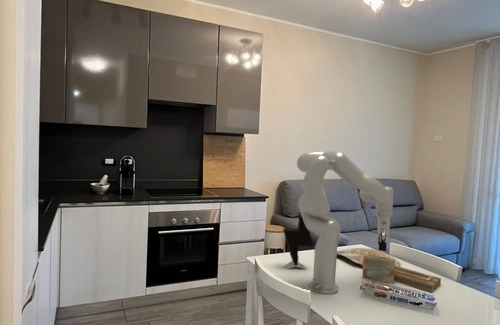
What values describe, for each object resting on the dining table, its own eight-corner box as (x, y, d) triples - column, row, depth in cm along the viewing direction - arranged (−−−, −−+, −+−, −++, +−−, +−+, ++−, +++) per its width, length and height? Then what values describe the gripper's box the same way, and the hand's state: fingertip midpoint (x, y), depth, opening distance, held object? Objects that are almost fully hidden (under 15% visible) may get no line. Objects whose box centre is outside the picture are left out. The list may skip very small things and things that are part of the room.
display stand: (431, 292, 148) (431, 284, 148) (378, 276, 165) (378, 268, 164) (440, 284, 158) (441, 276, 158) (389, 269, 174) (390, 262, 174)
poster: (359, 277, 171) (404, 270, 182) (360, 266, 170) (405, 259, 181) (328, 255, 197) (368, 250, 208) (328, 245, 196) (369, 240, 207)
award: (309, 266, 174) (313, 209, 173) (312, 269, 169) (315, 211, 167) (281, 265, 174) (284, 208, 172) (282, 268, 168) (285, 210, 167)
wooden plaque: (393, 284, 156) (395, 261, 155) (362, 278, 161) (363, 255, 161) (393, 281, 159) (395, 258, 158) (362, 275, 165) (364, 253, 164)
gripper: (393, 216, 149) (391, 254, 150) (391, 209, 166) (389, 243, 167) (375, 215, 152) (373, 252, 153) (374, 208, 168) (373, 241, 169)
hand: (381, 247), depth 160 cm, fingers open, 9 cm apart
